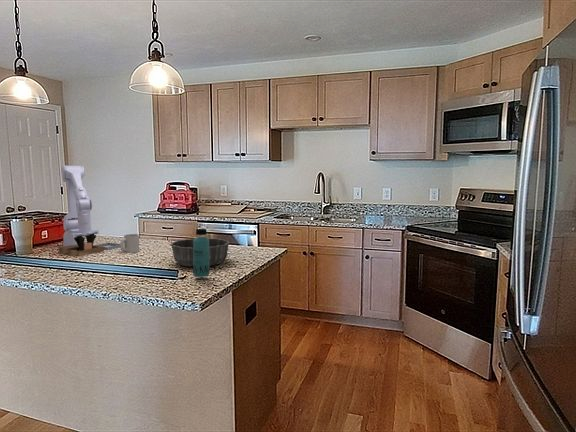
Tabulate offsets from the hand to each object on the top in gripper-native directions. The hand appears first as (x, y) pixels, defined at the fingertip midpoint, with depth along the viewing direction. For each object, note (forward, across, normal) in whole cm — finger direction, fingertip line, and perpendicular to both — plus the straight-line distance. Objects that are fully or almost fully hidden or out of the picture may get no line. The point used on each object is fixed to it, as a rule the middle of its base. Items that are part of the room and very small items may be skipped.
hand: (85, 250), depth 202 cm
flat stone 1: (+1, -3, +7) cm, 8 cm away
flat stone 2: (+1, +3, +7) cm, 8 cm away
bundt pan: (+2, +12, -62) cm, 63 cm away
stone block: (+1, 0, 0) cm, 1 cm away
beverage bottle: (+2, -9, -79) cm, 80 cm away
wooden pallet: (+2, 0, +3) cm, 4 cm away
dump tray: (+2, +15, +2) cm, 15 cm away
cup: (+2, +13, -16) cm, 21 cm away
